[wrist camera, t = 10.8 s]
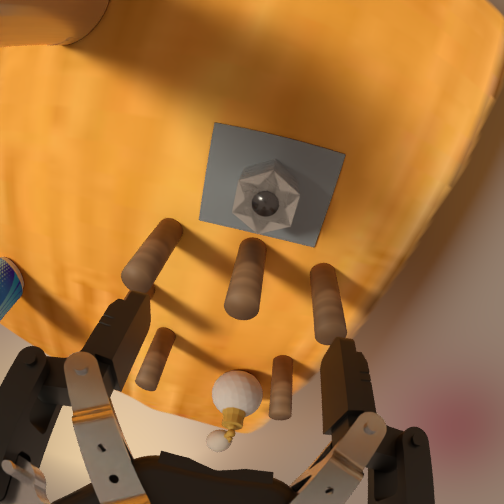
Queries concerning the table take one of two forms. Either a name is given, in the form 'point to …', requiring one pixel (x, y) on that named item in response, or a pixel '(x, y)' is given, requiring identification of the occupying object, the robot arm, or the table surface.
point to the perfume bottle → (233, 405)
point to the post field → (233, 306)
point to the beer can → (9, 285)
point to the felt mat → (260, 150)
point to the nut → (266, 197)
